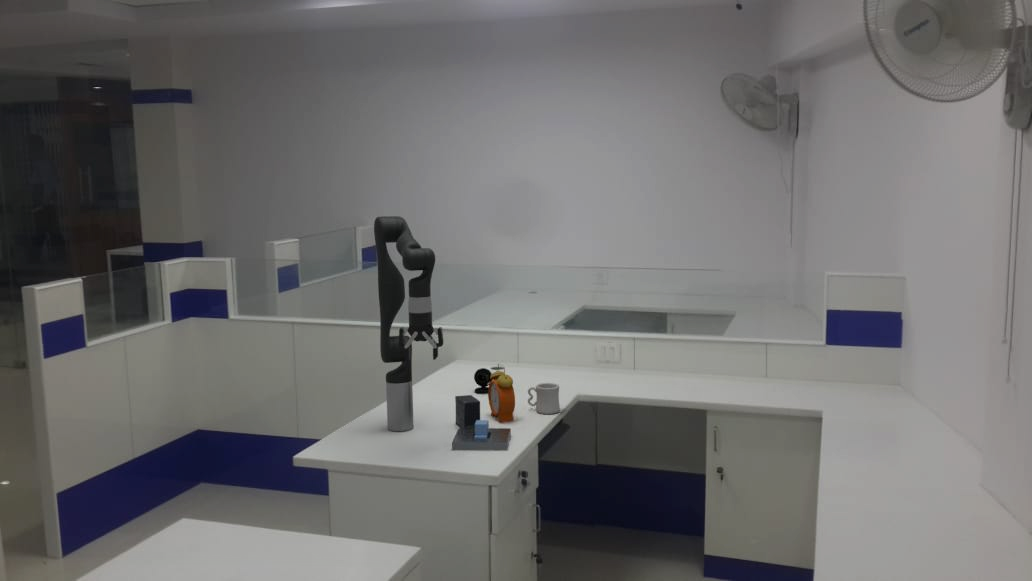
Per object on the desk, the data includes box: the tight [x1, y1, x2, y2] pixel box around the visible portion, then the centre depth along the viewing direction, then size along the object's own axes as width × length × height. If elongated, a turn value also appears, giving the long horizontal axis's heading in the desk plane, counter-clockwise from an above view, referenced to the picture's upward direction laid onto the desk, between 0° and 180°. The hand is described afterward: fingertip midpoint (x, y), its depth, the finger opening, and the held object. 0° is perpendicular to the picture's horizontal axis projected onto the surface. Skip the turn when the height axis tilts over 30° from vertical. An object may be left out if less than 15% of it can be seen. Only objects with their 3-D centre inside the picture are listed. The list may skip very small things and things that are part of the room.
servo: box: [474, 419, 489, 439], centre depth 289 cm, size 9×4×7 cm, turn 176°
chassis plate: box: [451, 427, 512, 451], centre depth 289 cm, size 16×18×2 cm
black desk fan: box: [473, 367, 493, 395], centre depth 356 cm, size 8×8×10 cm
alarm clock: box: [487, 363, 516, 424], centre depth 316 cm, size 13×6×20 cm, turn 21°
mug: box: [527, 382, 561, 415], centre depth 326 cm, size 12×9×10 cm
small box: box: [455, 394, 481, 428], centre depth 307 cm, size 11×6×10 cm, turn 22°
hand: (421, 359), depth 281 cm, fingers open, 8 cm apart
